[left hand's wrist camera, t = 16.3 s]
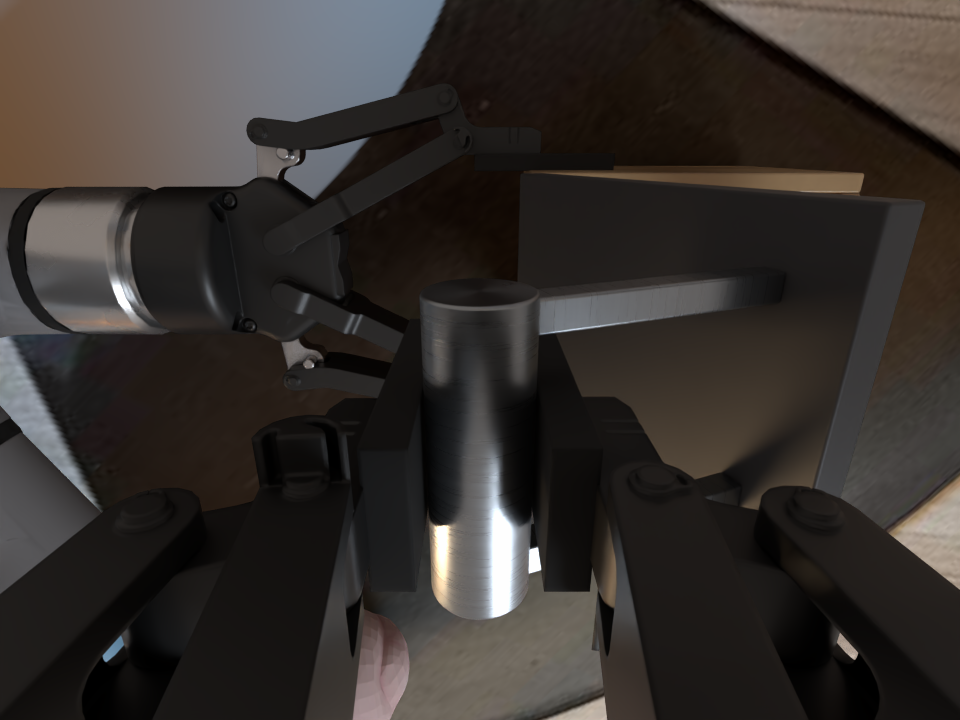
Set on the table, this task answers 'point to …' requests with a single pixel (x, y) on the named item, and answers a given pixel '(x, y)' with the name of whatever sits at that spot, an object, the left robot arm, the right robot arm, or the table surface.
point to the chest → (734, 177)
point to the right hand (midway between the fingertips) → (599, 261)
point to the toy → (380, 669)
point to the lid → (655, 350)
